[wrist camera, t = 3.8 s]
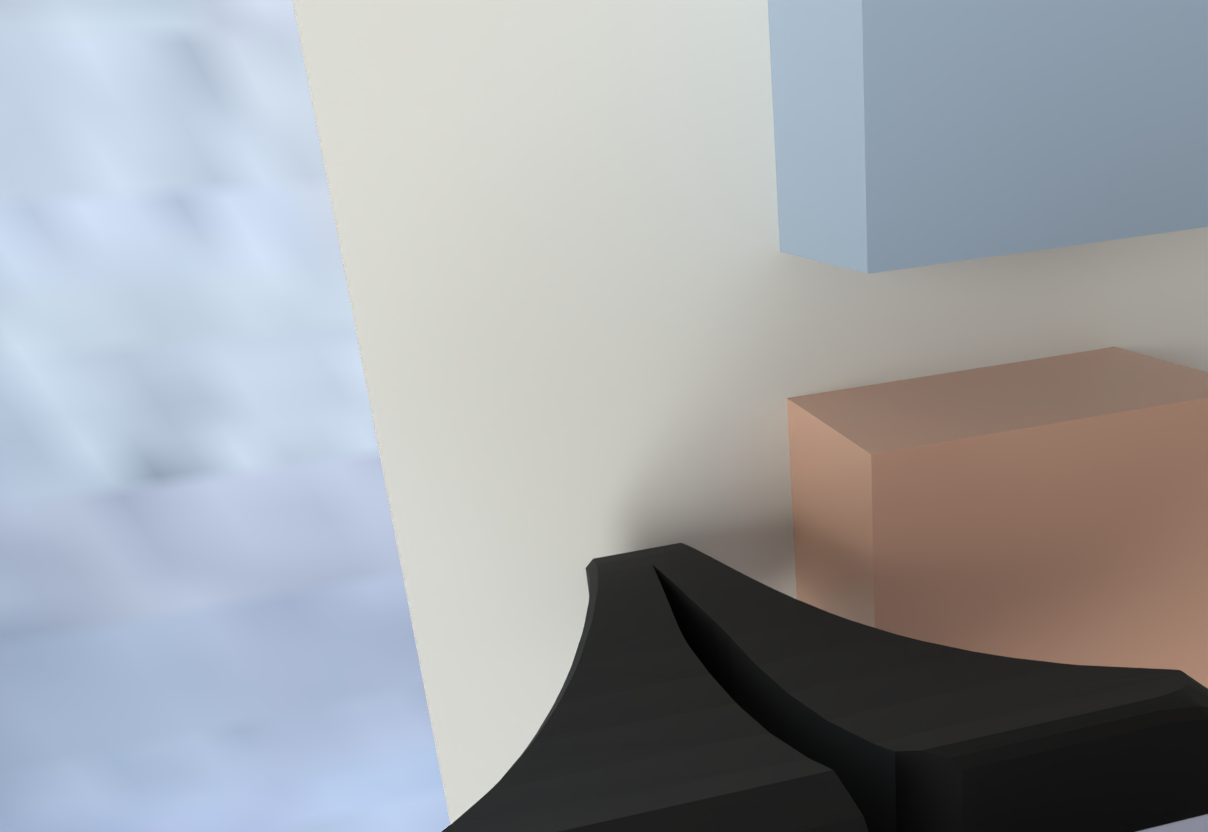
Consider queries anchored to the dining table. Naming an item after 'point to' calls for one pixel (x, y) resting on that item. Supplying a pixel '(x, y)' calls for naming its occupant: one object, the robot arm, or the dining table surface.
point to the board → (622, 316)
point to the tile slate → (985, 126)
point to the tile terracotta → (1014, 509)
